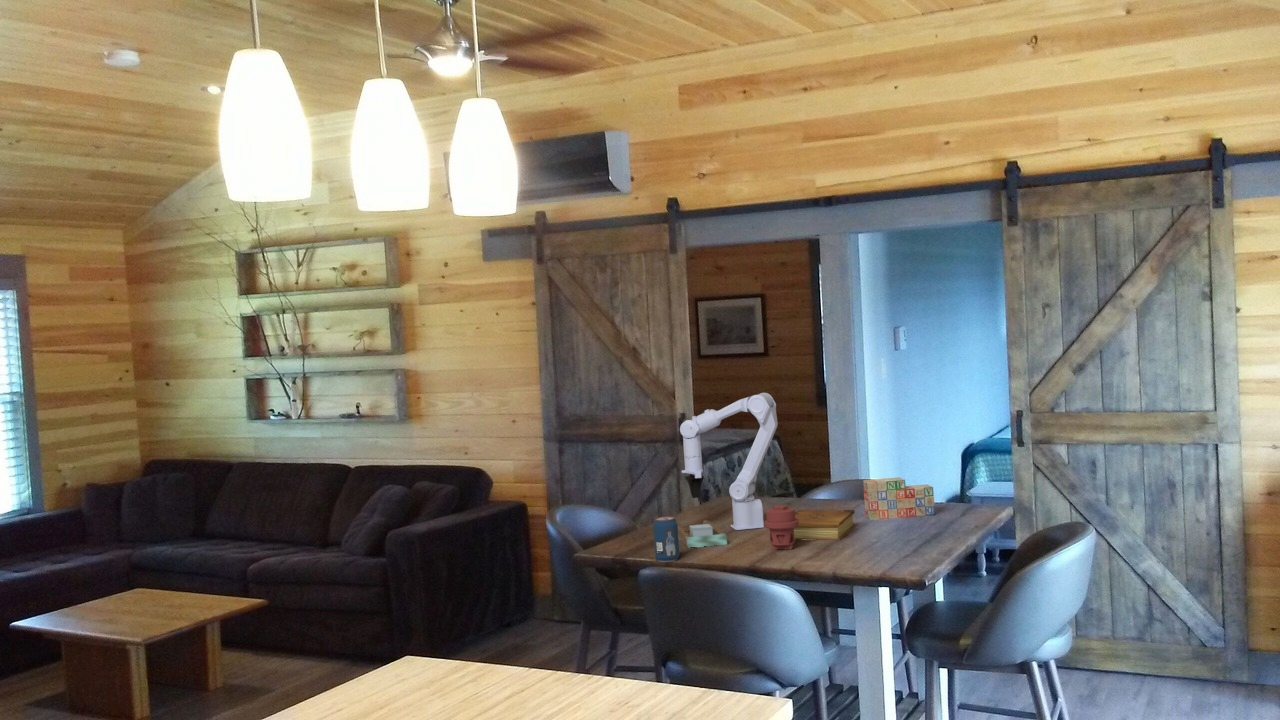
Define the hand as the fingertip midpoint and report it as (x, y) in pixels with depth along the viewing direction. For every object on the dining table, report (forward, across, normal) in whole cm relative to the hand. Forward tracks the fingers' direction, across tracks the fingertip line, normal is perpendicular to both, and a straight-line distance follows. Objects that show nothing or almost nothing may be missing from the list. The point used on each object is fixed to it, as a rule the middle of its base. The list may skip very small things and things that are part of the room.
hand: (695, 497), depth 370 cm
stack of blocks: (+10, +13, +64) cm, 67 cm away
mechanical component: (+10, +46, +16) cm, 50 cm away
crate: (+10, +25, -4) cm, 27 cm away
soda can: (+10, +46, -18) cm, 50 cm away
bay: (+10, +18, -4) cm, 21 cm away
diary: (+11, +28, +32) cm, 44 cm away
